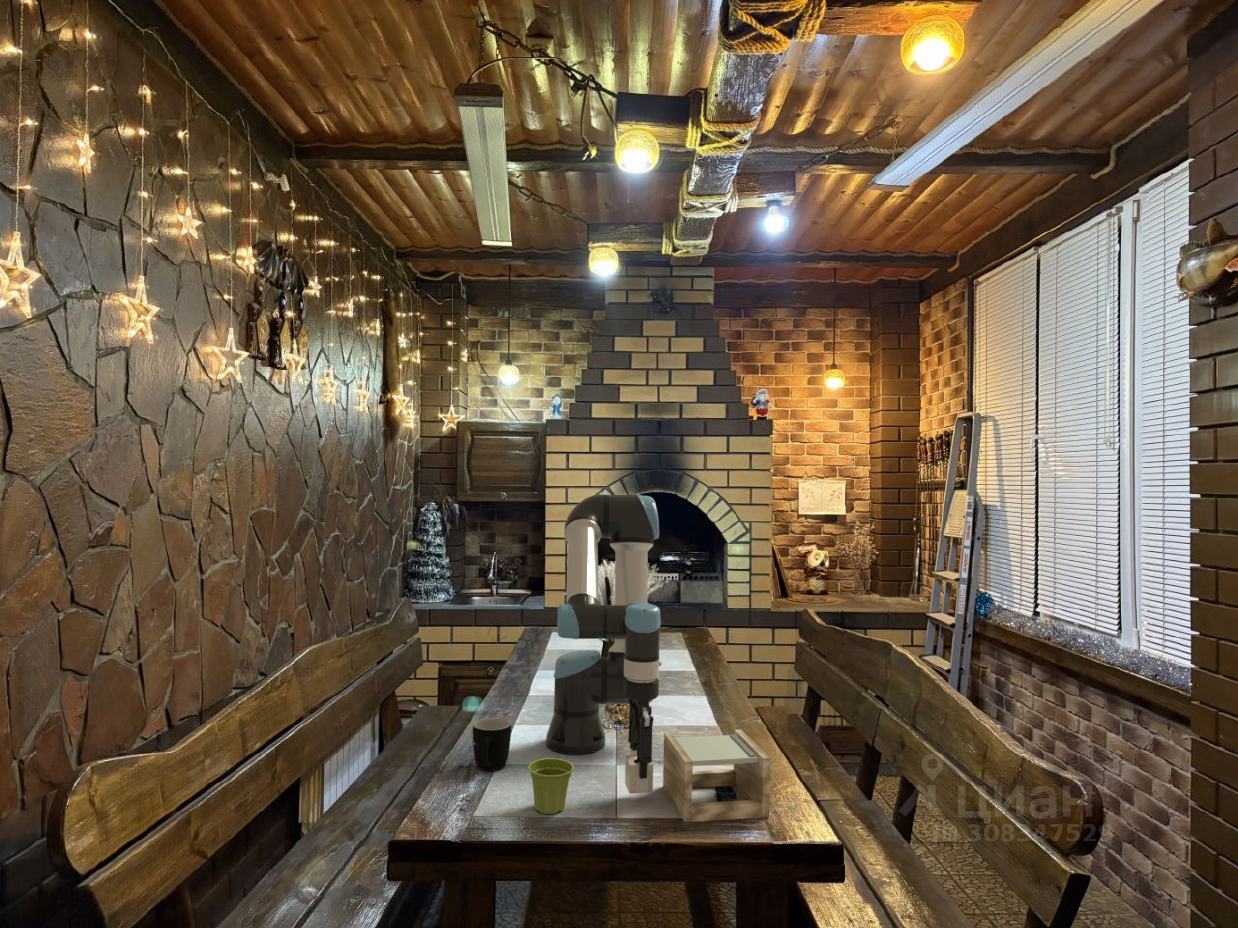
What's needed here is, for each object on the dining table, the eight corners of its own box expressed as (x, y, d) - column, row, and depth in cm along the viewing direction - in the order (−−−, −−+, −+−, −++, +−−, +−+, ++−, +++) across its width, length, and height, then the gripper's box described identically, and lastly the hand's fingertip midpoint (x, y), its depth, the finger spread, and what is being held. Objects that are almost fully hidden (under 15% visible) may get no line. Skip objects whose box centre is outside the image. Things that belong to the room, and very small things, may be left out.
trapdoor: (692, 765, 157) (692, 759, 157) (674, 742, 171) (674, 736, 171) (757, 762, 160) (757, 755, 160) (735, 739, 174) (735, 733, 174)
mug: (476, 758, 187) (477, 716, 187) (513, 760, 186) (514, 718, 186) (464, 778, 175) (465, 733, 175) (503, 779, 174) (504, 734, 174)
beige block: (629, 793, 162) (630, 765, 162) (625, 783, 167) (625, 755, 167) (652, 792, 163) (653, 763, 163) (647, 781, 168) (648, 754, 168)
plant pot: (573, 798, 165) (574, 757, 165) (572, 818, 156) (573, 775, 156) (529, 798, 165) (530, 757, 165) (525, 818, 155) (526, 775, 155)
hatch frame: (684, 822, 155) (685, 762, 155) (662, 786, 173) (664, 732, 173) (769, 816, 158) (770, 757, 158) (739, 782, 176) (740, 729, 176)
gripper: (668, 690, 157) (665, 803, 157) (649, 665, 174) (646, 767, 175) (632, 691, 155) (629, 806, 156) (616, 666, 173) (614, 769, 174)
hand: (638, 785), depth 165 cm, fingers closed on beige block, 5 cm apart
